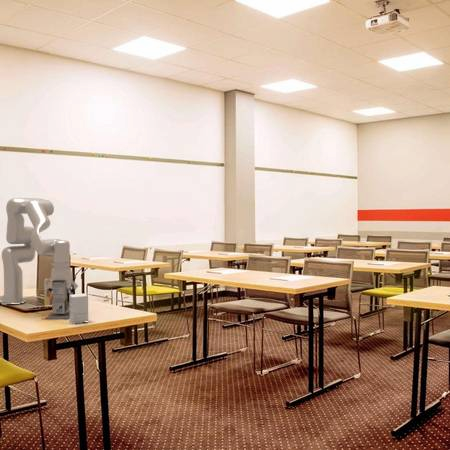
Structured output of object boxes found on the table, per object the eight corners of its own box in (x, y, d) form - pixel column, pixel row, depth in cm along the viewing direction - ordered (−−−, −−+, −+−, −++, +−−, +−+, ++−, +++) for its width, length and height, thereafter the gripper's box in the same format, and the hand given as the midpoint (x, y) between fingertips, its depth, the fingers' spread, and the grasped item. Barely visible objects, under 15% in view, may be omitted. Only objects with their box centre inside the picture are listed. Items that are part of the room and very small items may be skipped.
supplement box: (85, 319, 244) (85, 293, 244) (88, 322, 238) (88, 295, 237) (69, 321, 241) (69, 294, 240) (72, 324, 234) (72, 296, 234)
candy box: (60, 305, 278) (60, 277, 278) (63, 306, 275) (63, 278, 275) (44, 307, 273) (43, 278, 272) (46, 308, 270) (46, 279, 269)
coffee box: (59, 309, 258) (58, 277, 257) (71, 309, 258) (71, 278, 257) (51, 313, 249) (51, 280, 248) (64, 313, 248) (64, 280, 248)
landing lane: (41, 319, 244) (41, 318, 244) (53, 311, 262) (53, 310, 262) (68, 319, 244) (68, 318, 244) (78, 311, 262) (78, 310, 262)
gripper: (41, 266, 248) (41, 302, 249) (77, 266, 249) (77, 303, 249) (46, 264, 256) (46, 299, 257) (81, 264, 256) (81, 300, 257)
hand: (61, 301), depth 253 cm, fingers closed on coffee box, 6 cm apart
